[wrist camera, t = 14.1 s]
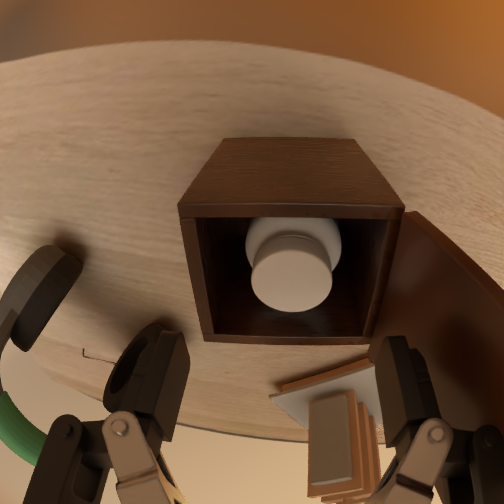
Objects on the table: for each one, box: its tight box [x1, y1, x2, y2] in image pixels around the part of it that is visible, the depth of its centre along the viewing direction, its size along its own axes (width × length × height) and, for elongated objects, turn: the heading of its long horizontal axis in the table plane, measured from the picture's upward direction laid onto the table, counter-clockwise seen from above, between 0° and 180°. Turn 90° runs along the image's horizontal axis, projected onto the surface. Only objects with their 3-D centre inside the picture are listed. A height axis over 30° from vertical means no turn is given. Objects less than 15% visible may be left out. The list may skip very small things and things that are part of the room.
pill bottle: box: [245, 217, 341, 312], centre depth 19 cm, size 6×5×10 cm
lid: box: [368, 211, 504, 504], centre depth 10 cm, size 10×8×1 cm
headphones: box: [0, 245, 167, 466], centre depth 25 cm, size 19×11×20 cm, turn 44°
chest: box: [177, 137, 405, 345], centre depth 19 cm, size 9×8×11 cm
